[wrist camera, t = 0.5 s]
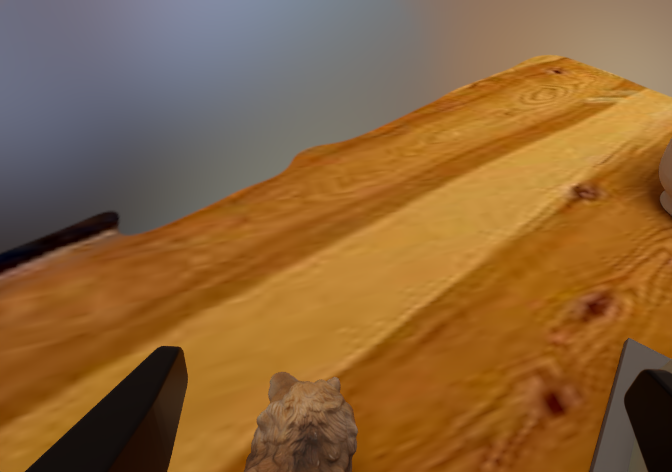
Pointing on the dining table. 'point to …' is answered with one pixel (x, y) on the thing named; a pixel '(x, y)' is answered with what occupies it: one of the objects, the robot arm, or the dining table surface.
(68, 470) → the robot arm
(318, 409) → the lion figurine
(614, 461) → the mat
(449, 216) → the dining table surface
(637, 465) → the storage box
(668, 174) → the teacup
